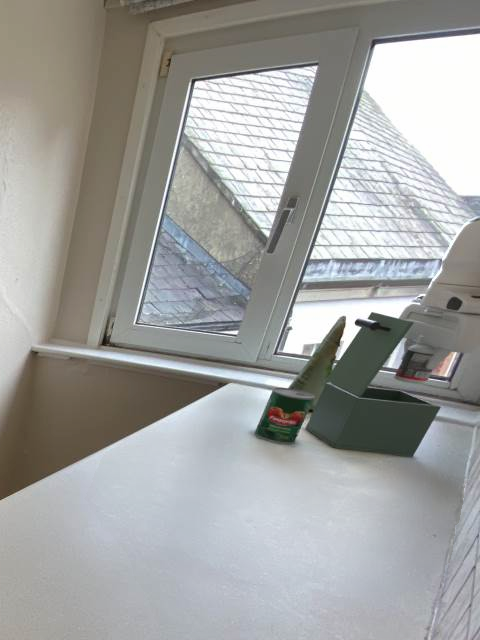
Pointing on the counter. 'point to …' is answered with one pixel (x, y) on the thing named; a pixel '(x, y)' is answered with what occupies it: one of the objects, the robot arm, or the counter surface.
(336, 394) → the chest
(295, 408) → the canned tomato
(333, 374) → the lid
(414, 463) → the counter surface
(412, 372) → the pill bottle
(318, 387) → the pouch
